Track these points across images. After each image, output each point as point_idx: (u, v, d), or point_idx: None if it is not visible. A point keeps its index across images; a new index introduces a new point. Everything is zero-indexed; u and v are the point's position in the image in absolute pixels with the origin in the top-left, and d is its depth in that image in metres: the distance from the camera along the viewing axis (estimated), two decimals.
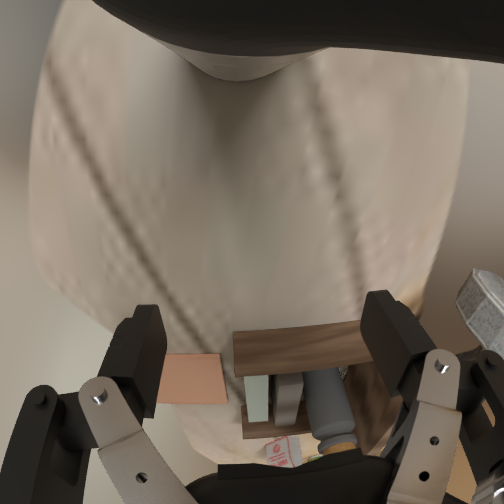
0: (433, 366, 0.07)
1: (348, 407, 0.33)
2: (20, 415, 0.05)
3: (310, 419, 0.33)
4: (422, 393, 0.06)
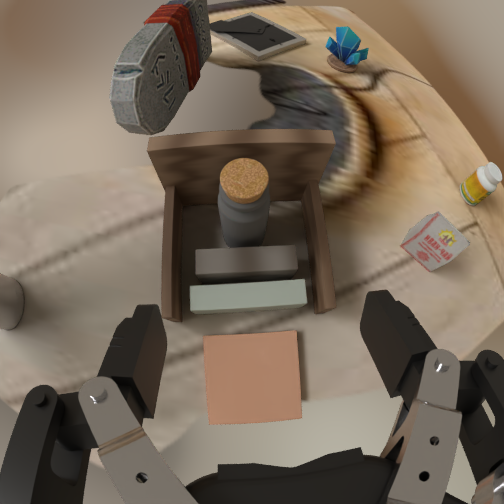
0: (433, 366, 0.07)
1: None
2: (20, 415, 0.05)
3: (241, 230, 0.33)
4: (422, 393, 0.06)
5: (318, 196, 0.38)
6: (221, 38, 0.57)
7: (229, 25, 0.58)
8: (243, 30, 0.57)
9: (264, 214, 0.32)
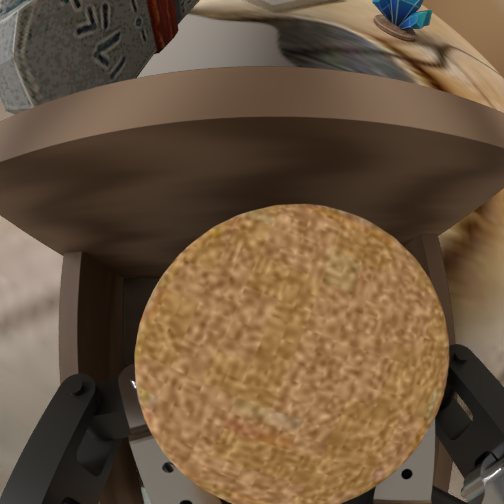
0: None
1: None
2: (52, 401, 0.06)
3: None
4: None
5: (443, 279, 0.13)
6: None
7: None
8: None
9: None
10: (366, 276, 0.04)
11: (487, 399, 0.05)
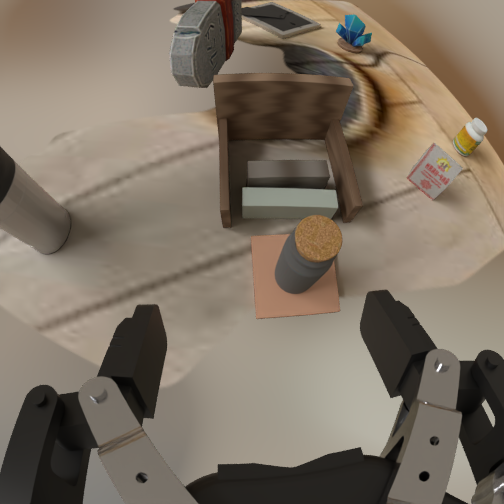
0: (433, 366, 0.07)
1: None
2: (20, 415, 0.05)
3: (304, 281, 0.33)
4: (422, 393, 0.06)
5: (340, 129, 0.45)
6: (249, 21, 0.65)
7: (255, 11, 0.65)
8: (267, 15, 0.65)
9: (329, 267, 0.32)
10: (326, 225, 0.28)
11: None
